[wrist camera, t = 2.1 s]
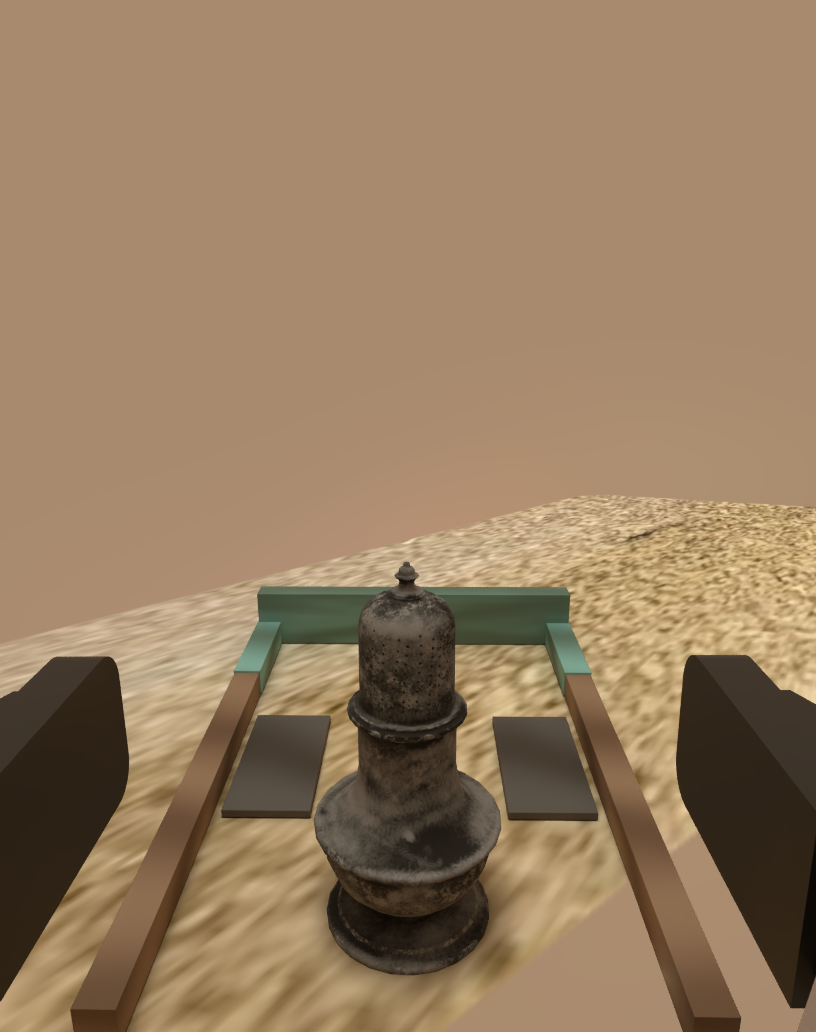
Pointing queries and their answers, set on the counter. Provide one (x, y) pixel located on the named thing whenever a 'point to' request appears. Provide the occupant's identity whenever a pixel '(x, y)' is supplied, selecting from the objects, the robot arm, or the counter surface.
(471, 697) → the counter surface
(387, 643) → the salt shaker
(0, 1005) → the counter surface
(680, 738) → the robot arm
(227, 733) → the track
